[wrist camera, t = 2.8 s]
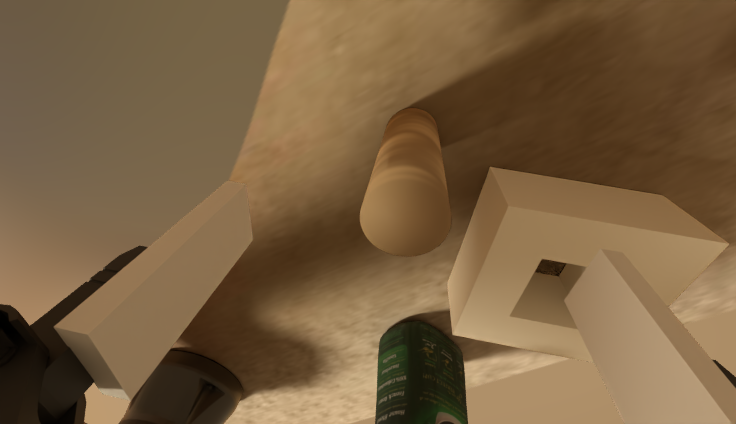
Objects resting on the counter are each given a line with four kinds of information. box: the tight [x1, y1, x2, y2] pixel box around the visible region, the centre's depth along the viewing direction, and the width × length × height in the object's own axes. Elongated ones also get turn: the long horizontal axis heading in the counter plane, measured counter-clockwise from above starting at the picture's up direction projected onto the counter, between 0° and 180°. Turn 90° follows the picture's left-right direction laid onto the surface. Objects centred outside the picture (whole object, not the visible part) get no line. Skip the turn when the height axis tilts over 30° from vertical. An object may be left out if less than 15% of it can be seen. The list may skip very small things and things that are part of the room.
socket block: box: [447, 167, 729, 363], centre depth 25 cm, size 13×13×6 cm
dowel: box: [360, 108, 452, 256], centre depth 18 cm, size 4×4×12 cm
